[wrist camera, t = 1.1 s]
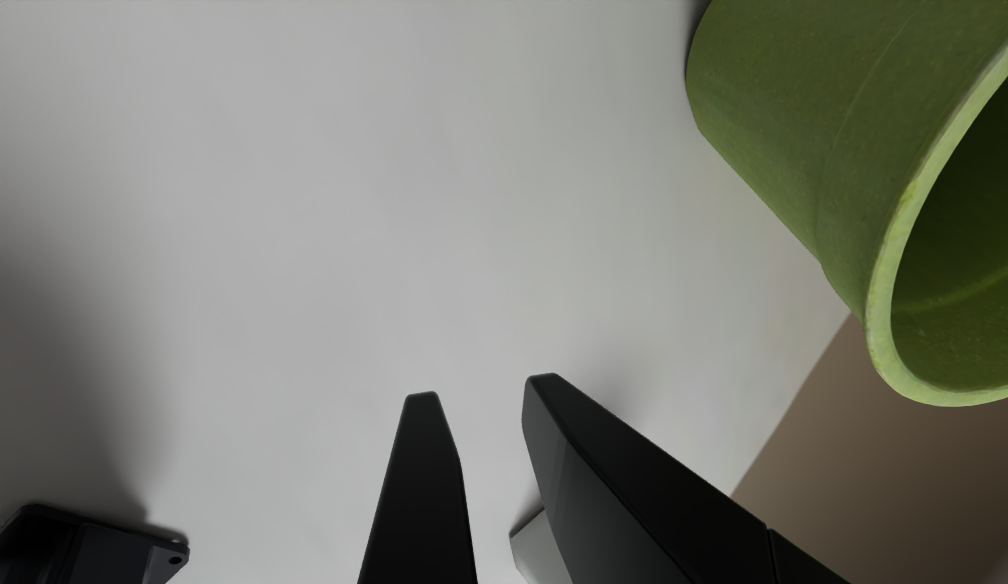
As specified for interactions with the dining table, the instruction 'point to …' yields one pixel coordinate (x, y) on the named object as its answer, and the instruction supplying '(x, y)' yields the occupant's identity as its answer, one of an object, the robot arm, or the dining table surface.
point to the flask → (539, 553)
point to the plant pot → (879, 166)
